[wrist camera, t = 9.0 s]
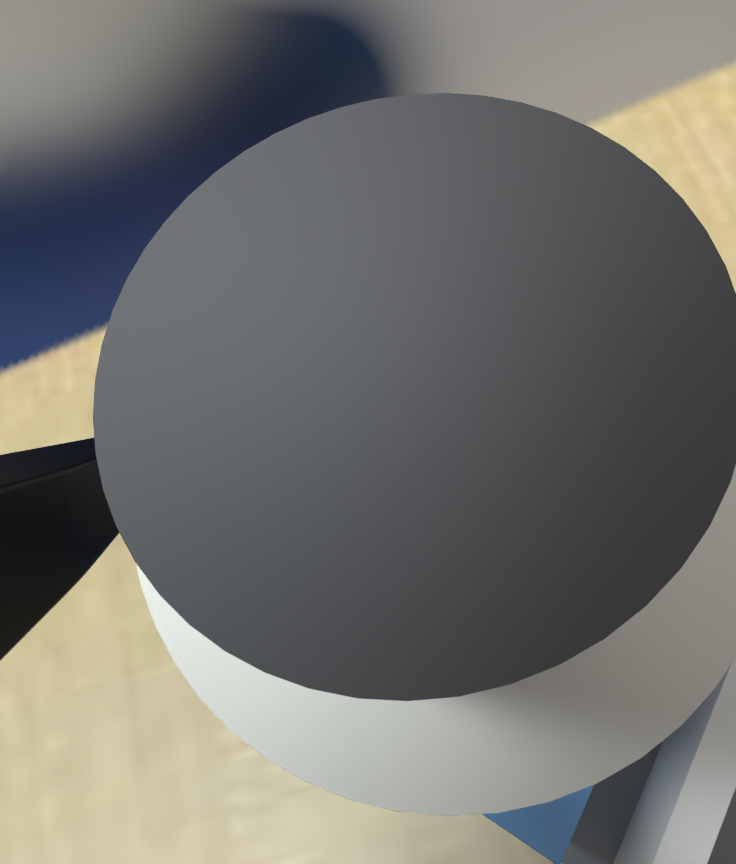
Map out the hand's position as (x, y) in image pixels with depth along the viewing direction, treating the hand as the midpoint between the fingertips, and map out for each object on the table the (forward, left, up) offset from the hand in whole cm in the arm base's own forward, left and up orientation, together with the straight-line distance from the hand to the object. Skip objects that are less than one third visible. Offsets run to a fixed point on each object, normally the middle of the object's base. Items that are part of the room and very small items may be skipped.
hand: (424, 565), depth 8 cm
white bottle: (+1, 0, -8) cm, 8 cm away
